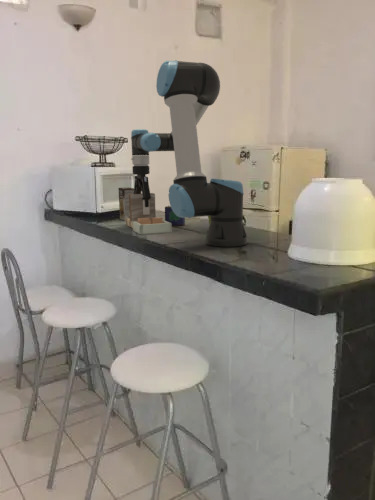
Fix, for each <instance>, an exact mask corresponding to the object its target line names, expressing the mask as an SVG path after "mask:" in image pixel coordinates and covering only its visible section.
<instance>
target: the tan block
mask: <svg viewBox="0 0 375 500" xmlns="http://www.w3.org/2000/svg"><path fill="white" fill-rule="evenodd" d="M150 195H151V198H150V199H149V208H150V214H148V215H143V200H142V198H143V194H142V193H141V194H129V212H130V221H132V222H134V221H138V218H149V219H150V221H151V218H153V217H156V214H157V213H156V194H155V193H153V192H150Z"/></svg>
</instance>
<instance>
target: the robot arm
mask: <svg viewBox="0 0 375 500" xmlns="http://www.w3.org/2000/svg"><path fill="white" fill-rule="evenodd" d="M155 87H156V92H157V95H158V96H160V97H162V98H163V101H164V102H163V103H164V104H165V105H166V106H167V107H168V108H169V114H170V115H169V116H170V124H171V132H170V133H167V132H158V133H155V132H149V130H147V129H143V128H142V129H140V128H139V129H132V130H131V133H130V134H131V137H130V140H131V158H130V160H131V162H132V163H131V164H132V174H133V175H135V176H134V185H133V186H134V187H133V188H134V194H143V198H142V200H143V215H148V214H150V208H149V199H150V198H151V195H150V193H151V189H150V185H149V177H148V176H146V175H149V174H150V166H149V165H150V152H173V153H174V159H175V168H176V175H175V177H174V179H173V180H172V181H173V184H171V185H170V187H169V189H168V201H169V205H170V206H171V208H172V210H173V212H174V213H175V214H176V215H177V216H178V217H181V218H185V219H186V218H188V219H191V218H197V217H198V218H201V217H208V216H211V222H210V226H209V225H208V228H207V229H208V230H207V233H206V236H205V244H206V245H209V246H212V247H222V248H223V247H226V248H229V247H231V248H232V247H241V246H245V245H248V235H247V232H246V228H245V225H244V223H243V222H244V220H243V219H244V217H243V216H244V215H243V213H244V212H243V211H244V194H245V193H244V186H243V183H242V182H241V181H238V180H232V179H220V178H211V179H210V181H209V182H208V179H207V178H208V177H207V176H206V175H205V174H204V173H203V171H202V165H201V156H200V147H199V140H198V139H199V138H198V129H197V125H198V124H199V123H200V121H201V119H202V118H203V115H204V114H205V113H206V111H207V110H208V109H209V107H210V106H212V105H213V104H214V103H215V102H216V101H217V99H218V96H219V95H220V91H221V81H220V77H219V74H218V72H217V71H216V69H215V68H214V67H212V66H211V65H210V64H208V63H205V62H195V61H194V62H193V61H192V62H191V61H181V60H177V59H175V60H165V61H164V62H163V63H161V65H160V67H159V70H158V73H157V77H156V86H155Z"/></svg>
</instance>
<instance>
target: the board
mask: <svg viewBox="0 0 375 500" xmlns="http://www.w3.org/2000/svg"><path fill="white" fill-rule="evenodd" d="M136 222H138V221H136ZM124 223H125V225H126V226H128V227H129V228H131V229H133V222H132V221H130V218H125V221H124ZM150 224H151V221H150Z"/></svg>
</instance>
